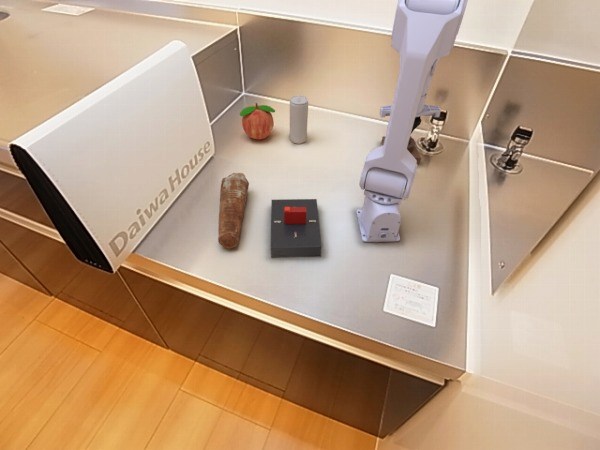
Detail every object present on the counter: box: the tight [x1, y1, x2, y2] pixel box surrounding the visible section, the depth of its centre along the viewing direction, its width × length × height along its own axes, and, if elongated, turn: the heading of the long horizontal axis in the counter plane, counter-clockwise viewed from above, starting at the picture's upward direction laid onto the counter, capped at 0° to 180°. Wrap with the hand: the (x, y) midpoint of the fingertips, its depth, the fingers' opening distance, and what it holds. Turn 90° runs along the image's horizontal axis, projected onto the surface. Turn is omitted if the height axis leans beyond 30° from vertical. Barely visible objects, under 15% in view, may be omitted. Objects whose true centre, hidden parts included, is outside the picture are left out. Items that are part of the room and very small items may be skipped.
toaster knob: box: [284, 207, 306, 224], centre depth 75 cm, size 4×1×4 cm, turn 92°
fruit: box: [239, 102, 276, 140], centre depth 101 cm, size 9×10×10 cm
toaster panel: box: [270, 198, 323, 258], centre depth 78 cm, size 14×10×3 cm
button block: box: [380, 135, 422, 166], centre depth 98 cm, size 10×8×4 cm
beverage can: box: [289, 94, 309, 144], centre depth 99 cm, size 5×5×12 cm
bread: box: [217, 172, 250, 249], centre depth 79 cm, size 6×19×6 cm, turn 0°
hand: (402, 140), depth 97 cm, fingers closed, pressing on button
